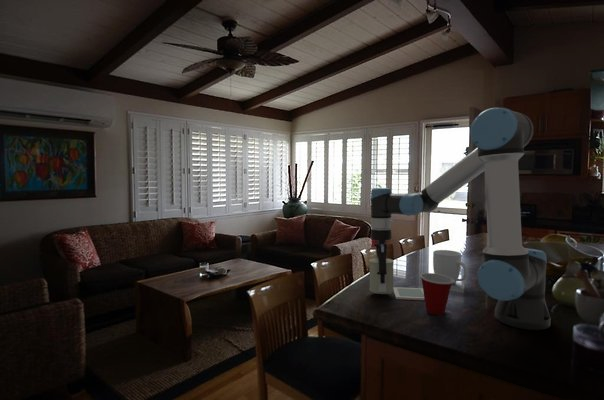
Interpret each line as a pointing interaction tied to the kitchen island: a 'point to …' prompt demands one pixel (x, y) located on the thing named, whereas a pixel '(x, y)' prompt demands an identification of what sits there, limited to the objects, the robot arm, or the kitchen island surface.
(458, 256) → the mug
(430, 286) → the plastic cup
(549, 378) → the kitchen island surface
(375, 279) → the can
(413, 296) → the square picture frame
